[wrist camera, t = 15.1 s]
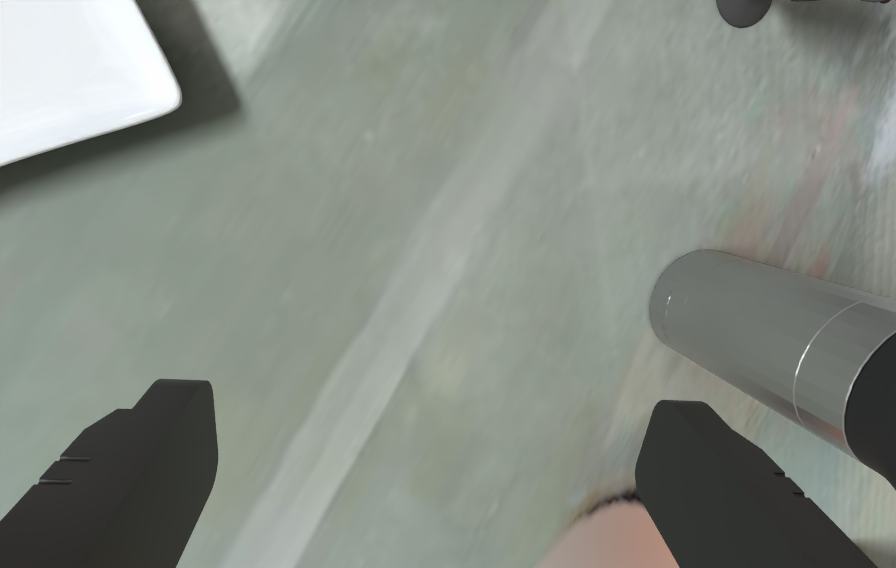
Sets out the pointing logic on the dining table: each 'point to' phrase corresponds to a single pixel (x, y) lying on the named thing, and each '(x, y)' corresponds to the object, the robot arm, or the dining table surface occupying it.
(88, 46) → the salad plate
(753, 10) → the sundae
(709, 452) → the robot arm
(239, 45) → the dining table surface
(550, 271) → the dining table surface
